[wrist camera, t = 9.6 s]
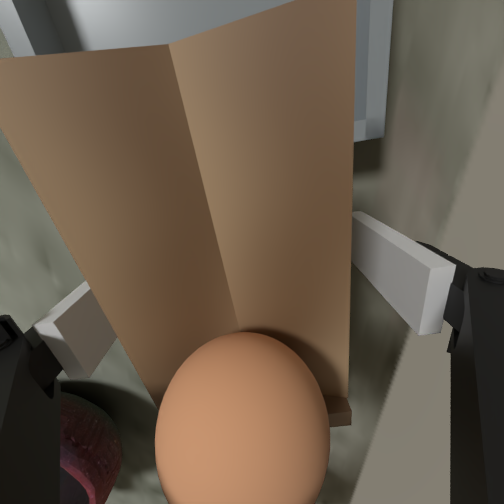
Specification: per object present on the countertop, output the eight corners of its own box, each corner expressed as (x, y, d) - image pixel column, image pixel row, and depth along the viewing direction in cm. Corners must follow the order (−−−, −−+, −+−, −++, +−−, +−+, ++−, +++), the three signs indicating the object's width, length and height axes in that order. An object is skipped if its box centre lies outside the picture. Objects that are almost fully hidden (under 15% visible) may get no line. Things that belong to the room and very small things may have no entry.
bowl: (-37, 377, 20) (-199, 509, 13) (100, 350, 19) (8, 477, 12) (67, 471, 27) (-2, 594, 19) (173, 454, 26) (143, 578, 18)
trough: (208, 288, 17) (163, 450, 8) (161, 122, 12) (-60, 61, 3) (298, 275, 16) (358, 428, 7) (282, 99, 12) (380, -33, 3)
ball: (196, 390, 8) (169, 578, 5) (158, 311, 6) (68, 540, 3) (305, 375, 8) (354, 557, 5) (302, 290, 6) (381, 502, 3)
